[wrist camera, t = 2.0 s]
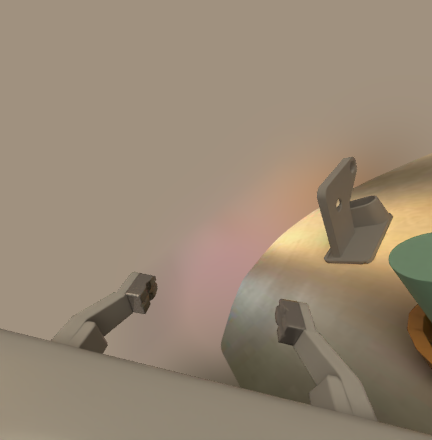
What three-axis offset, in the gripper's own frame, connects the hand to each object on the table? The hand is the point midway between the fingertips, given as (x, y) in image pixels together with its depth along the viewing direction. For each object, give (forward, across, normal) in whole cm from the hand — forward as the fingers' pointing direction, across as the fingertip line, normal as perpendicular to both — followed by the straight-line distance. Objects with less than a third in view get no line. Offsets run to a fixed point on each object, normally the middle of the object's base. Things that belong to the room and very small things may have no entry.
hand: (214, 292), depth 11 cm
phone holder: (+31, +31, -14) cm, 46 cm away
